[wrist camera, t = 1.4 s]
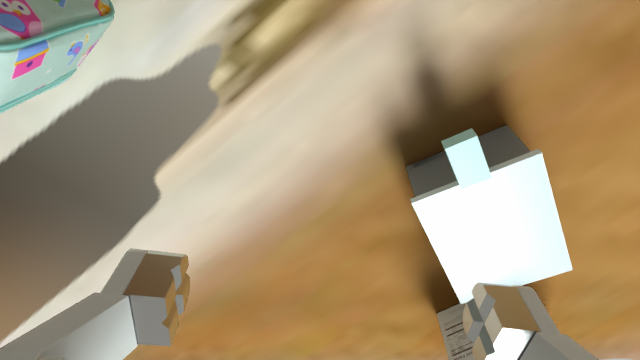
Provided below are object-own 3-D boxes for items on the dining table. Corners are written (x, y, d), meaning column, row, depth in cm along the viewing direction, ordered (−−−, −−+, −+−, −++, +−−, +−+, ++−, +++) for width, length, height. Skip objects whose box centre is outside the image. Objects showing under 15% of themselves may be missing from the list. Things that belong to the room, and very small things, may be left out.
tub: (506, 124, 45) (534, 155, 39) (537, 225, 52) (563, 263, 46) (405, 166, 48) (416, 200, 42) (447, 255, 55) (462, 295, 49)
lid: (522, 101, 37) (534, 111, 35) (565, 259, 47) (576, 274, 45) (390, 157, 40) (394, 170, 38) (457, 294, 50) (462, 309, 48)
